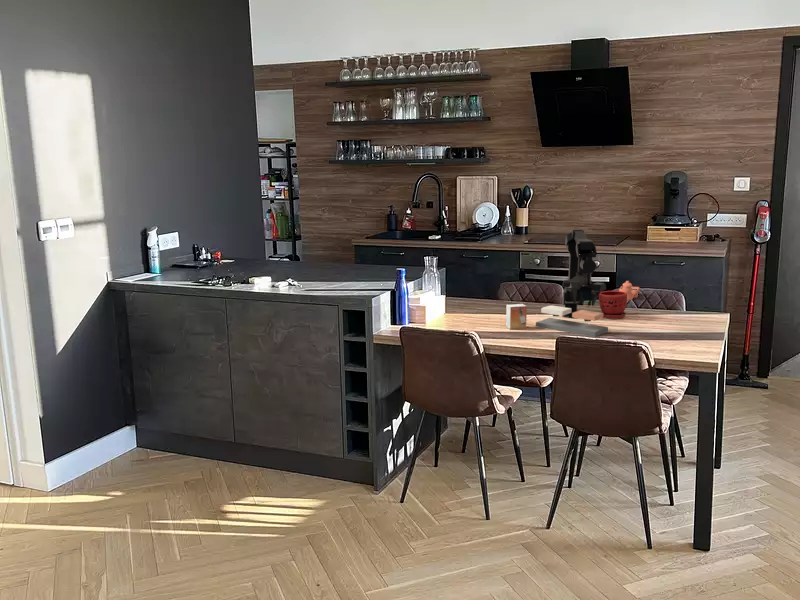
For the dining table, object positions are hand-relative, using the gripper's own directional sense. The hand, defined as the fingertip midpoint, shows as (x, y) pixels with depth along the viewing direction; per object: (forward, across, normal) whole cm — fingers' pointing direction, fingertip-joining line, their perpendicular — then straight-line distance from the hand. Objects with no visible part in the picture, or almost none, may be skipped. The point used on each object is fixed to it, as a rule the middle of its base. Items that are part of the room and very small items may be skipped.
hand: (583, 304), depth 349 cm
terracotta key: (+7, +2, +1) cm, 8 cm away
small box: (+13, -27, -13) cm, 32 cm away
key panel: (+12, -6, +1) cm, 14 cm away
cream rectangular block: (+7, -14, 0) cm, 16 cm away
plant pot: (+12, -4, +34) cm, 36 cm away
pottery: (+12, -21, +82) cm, 86 cm away
